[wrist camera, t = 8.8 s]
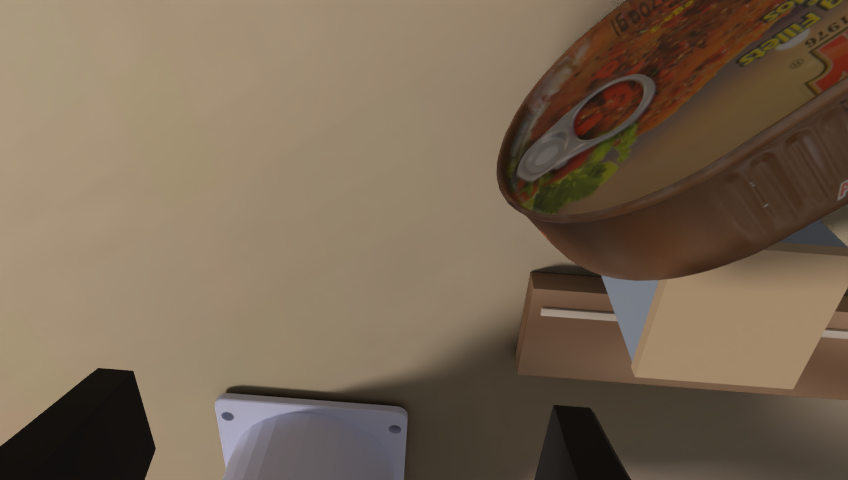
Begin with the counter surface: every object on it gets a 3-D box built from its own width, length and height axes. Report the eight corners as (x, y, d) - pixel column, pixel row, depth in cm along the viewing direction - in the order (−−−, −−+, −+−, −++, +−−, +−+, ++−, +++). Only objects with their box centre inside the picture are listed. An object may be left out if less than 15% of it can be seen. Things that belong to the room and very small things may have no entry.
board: (876, 384, 23) (894, 405, 22) (515, 356, 23) (517, 376, 22) (929, 301, 21) (951, 322, 20) (530, 271, 21) (534, 290, 20)
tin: (1046, -336, 12) (1834, -611, 5) (1083, -196, 14) (1772, -271, 7) (481, 111, 18) (497, 267, 11) (542, 183, 19) (591, 366, 12)
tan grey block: (709, 261, 21) (792, 389, 15) (590, 252, 21) (634, 377, 15) (751, 150, 18) (863, 257, 13) (618, 141, 18) (679, 243, 13)
